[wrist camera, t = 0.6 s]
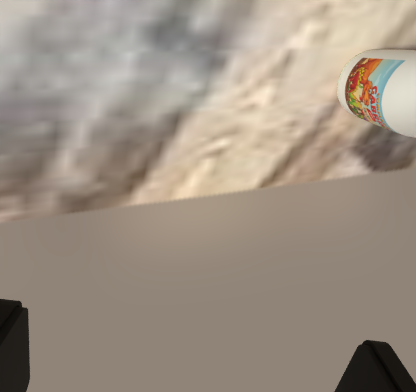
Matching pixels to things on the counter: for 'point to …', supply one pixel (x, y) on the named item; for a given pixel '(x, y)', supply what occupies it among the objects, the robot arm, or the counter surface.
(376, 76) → the milk bottle
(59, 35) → the counter surface
